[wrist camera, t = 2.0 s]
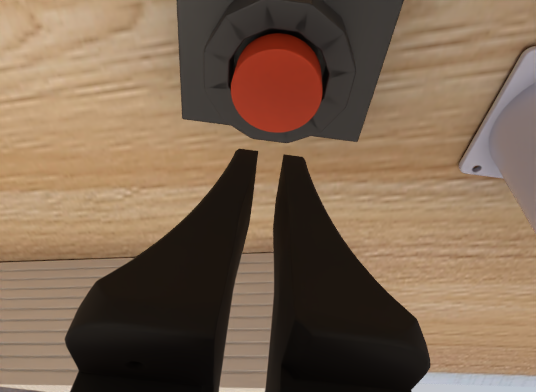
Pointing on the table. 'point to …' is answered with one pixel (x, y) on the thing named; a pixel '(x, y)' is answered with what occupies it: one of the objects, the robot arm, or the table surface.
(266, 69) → the button
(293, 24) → the button block
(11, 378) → the long wooden block
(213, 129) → the table surface
